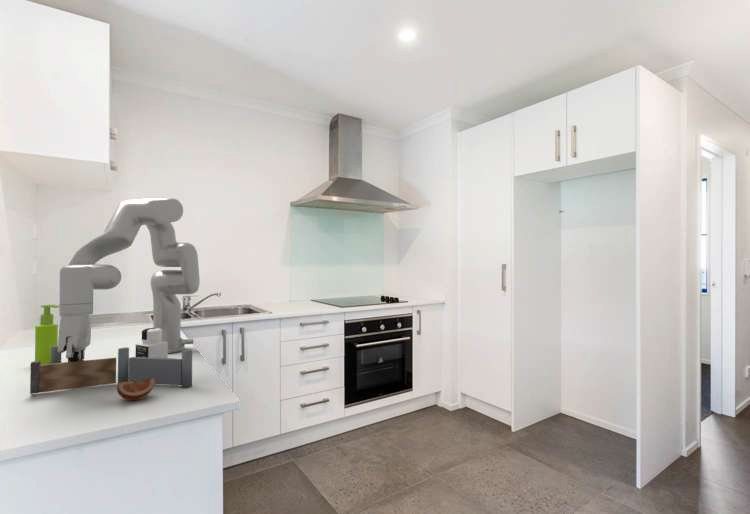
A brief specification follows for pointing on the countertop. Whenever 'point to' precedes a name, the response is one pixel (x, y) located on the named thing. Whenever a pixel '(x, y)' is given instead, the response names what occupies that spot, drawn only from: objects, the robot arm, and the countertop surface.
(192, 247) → the robot arm
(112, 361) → the gate
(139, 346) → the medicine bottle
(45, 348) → the soap dispenser
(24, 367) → the countertop surface
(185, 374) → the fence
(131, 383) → the fruit slice
